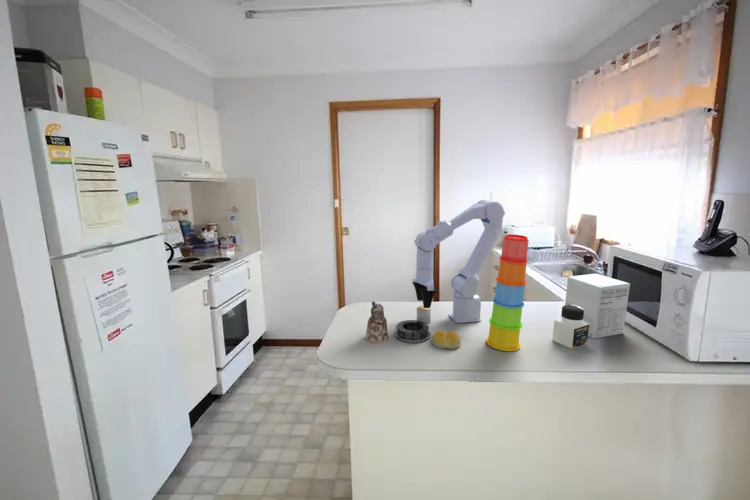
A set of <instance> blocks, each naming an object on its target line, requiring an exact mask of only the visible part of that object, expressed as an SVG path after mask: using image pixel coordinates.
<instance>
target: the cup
mask: <svg viewBox="0 0 750 500" xmlns="http://www.w3.org/2000/svg"><path fill="white" fill-rule="evenodd" d="M431 310H432V309H431V307H430V308H424V306H423V305H421V306H417V307H416V320H417V321H422V322H424V323H426V324H427V325H429V324H430V323H431V319H432V317H431V316H432V315H431V313H432V311H431Z"/></svg>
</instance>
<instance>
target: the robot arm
mask: <svg viewBox="0 0 750 500" xmlns="http://www.w3.org/2000/svg"><path fill="white" fill-rule="evenodd" d="M505 214H506V213H505V210H504V207H503V205H502V204H501V203H500V202H499V201H491V200H487V199H481V200H479V201H477V202H476V203H473V204H472V205H471V206H470V207H468V208H467V209H465V210H464V211H462V212H461V213H460V214H458V215H456V216H455V217H453V218H452V219H450V220H449V221H446V220H443V221H442V220H439V221H438V222H437V223H436V224H435V226H433V227H431V228H427V229H426V230H425V232H421V233H418V234H417V235H416V237H415V239H414V244H415V246H416V264H415V266H416V271H415V273H416V274H415V278H413V279H412V284H413V287H414V290H415V294H416V300H417V301H419V302H422V306H424V308H431V306H432V302H433V299H434V296H435V295H436V293H437V292H438V290H437V289H436V288H435V286H434V279H433V277H434V276H433V275H434V273H433V271H434V270H433V269H434V249H436V247H437V244H439V243H442V242H443V241H445V240H447V239H448V238H449V237H452V236H453V234H454V231H455V230H456V229H458V228H460V227H462V226H464V225H466V224H468V222H470V221H473V220H474V219H475V220H480V221H481V222H482V226H483V227H484V229H483V232H482V233H481V236H480V237H479V239H478V241H477V243H476V245H475V247H474V249H473V250H472V252H471V254H470V256H469V259H468V260H467V262H466V264H465V266H464V267H463V268H461V269H460V270H458V273H457V274H456V275H454V276H453V277H452V279H451V283H450V285H451V288H452V289H453V296H452V297H453V298H452V312H451V313H449V314H448V316H449V317H450V318H451V319H452V320H453V321H454V322H455V323H456V324H460V323H473V322H475V323H476V322H481V320H482V319H481V309H482V307H481V306H482V304H481V298H480V296H479V295H478V294H477V292H478V287H479V283H480V277H479V274H480V273H481V270H482V269H483V267H484V265H485V263H486V261H487V259H488V257H489V256H490V254H491V252H492V250H493V248H494V246H495V244H496V242H497V240H498V238H499V236H500V235H501V233H502V230H503V222H504V221H503V218H504V216H505Z"/></svg>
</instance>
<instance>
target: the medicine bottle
mask: <svg viewBox="0 0 750 500" xmlns="http://www.w3.org/2000/svg"><path fill="white" fill-rule="evenodd" d="M583 316H584V310H583V308H581V307H579V306H576V305H565V304H564V305H563V306H562V307H561V315H560V318H557V319H554V321H553V328H552V329H553V331H552V341H553V342H555V343H557V344H559V345H562V346H564V347H566V348H569V349H571V350H575V349H578V348H580V347H583V346H587V344H588V337H589V336H588V330H589V323H586V322H584V321H583Z"/></svg>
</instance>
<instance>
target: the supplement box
mask: <svg viewBox="0 0 750 500" xmlns="http://www.w3.org/2000/svg"><path fill="white" fill-rule="evenodd" d="M630 287H631V283H629V282H626V281H623V280H619V279H616V278H612V277H610V276H606V275H602V274H599V273H589V274H582V275H581V274H580V275H572V276H570V275H569V276H568V277H567V281H566V293H565V301H564V302H565V303H564V305H576V306H579V307H581V308H583V310H584V316H583V321H584V322H586V323H589V330H588V337H590V338H592V339H599V338H600V339H601V338H604V337H609V336H616V335H621V334H622V335H623V334H624V330H625V323H626V315H627V314H626V313H627V308H628V300H629V295H630Z"/></svg>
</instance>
